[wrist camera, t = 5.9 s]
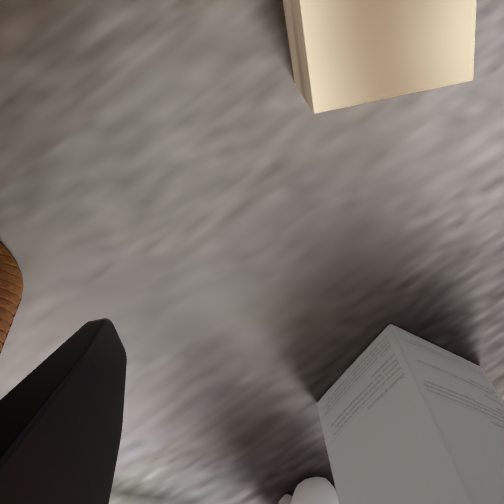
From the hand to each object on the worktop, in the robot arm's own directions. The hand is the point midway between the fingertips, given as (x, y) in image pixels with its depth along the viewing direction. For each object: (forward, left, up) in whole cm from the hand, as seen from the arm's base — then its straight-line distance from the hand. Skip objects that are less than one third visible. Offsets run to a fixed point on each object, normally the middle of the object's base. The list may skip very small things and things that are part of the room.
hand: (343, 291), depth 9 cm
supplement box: (-4, +17, -13) cm, 22 cm away
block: (-3, -4, -13) cm, 14 cm away
